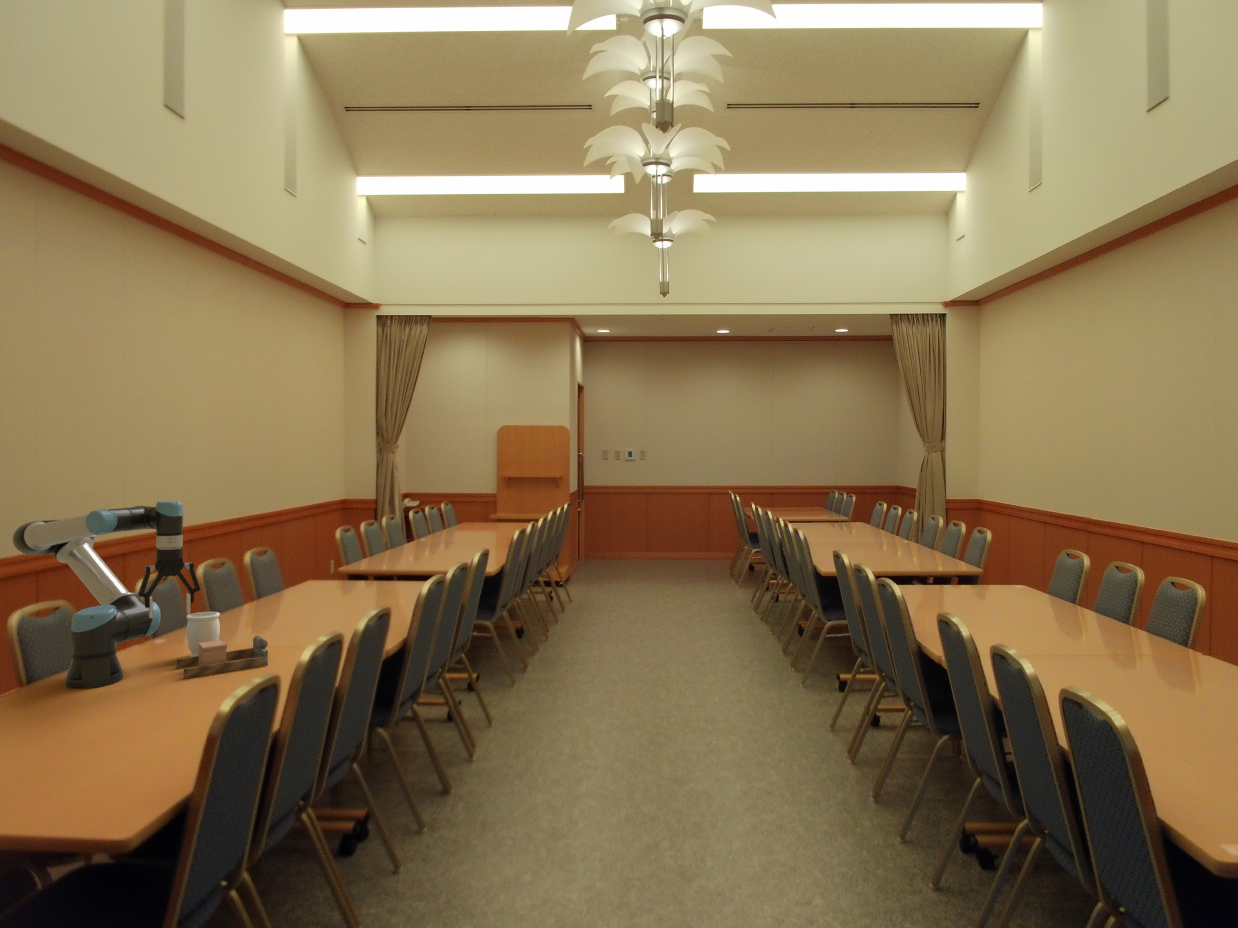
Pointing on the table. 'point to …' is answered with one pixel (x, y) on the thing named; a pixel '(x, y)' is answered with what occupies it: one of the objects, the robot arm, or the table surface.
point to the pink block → (212, 652)
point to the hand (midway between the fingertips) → (169, 615)
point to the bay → (256, 651)
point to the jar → (202, 629)
